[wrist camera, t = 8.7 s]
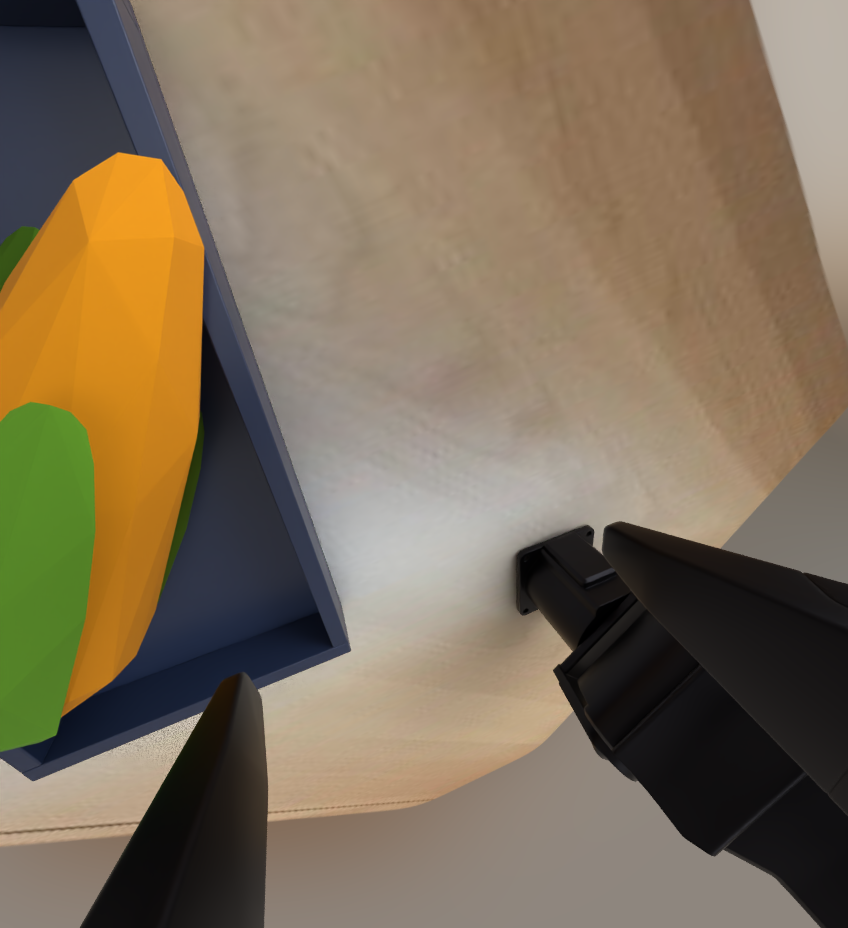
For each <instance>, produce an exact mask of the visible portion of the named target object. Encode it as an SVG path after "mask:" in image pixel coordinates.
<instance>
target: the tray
mask: <svg viewBox="0 0 848 928" xmlns="http://www.w3.org/2000/svg"><path fill="white" fill-rule="evenodd" d="M118 152H119V153H125V154H132V155H138V156H144V157H150V158H157V159H161V160H162V161H163V163H164V164H165V165H166V167H167V168H168V170H169V171H170V173H171V174H172V176H173V177H174V178H175V180H176V181H177V183H178V184H179V186H180V187H181V189H182V190H183V192H184V194H185V197H186V199H187V202H188V205H189V208H190V210H191V213H192V216H193V218H194V221H195V224H196V226H197V229H198V232H199V234H200V237H201V240H202V243H203V245H204V280H203V316H202V352H201V388H200V411H201V412H202V417H203V426H204V442H203V451H202V460H201V469H200V473H199V478H198V482H197V486H196V490H195V495H194V499H193V503H192V507H191V511H190V516H189V520H188V524H187V528H186V531H185V534H184V536H183V539H182V542H181V544H180V547H179V550H178V552H177V555H176V557H175V560H174V563H173V565H172V568H171V571H170V573H169V576H168V578H167V581H166V584H165V586H164V589H163V592H162V594H161V597H160V599H159V602H158V604H157V607H156V611H155V613H154V615H153V618H152V620H151V622H150V625H149V627H148V629H147V632H146V634H145V636H144V638H143V641H142V643H141V645H140V648H139V650H138V652H137V655H136V656H135V657H134V658H133V659H132V661H131V662H130V663H129V664H128V665H127V666H126V667H125V668H124V669H123V670H122V671H121V672H120V673H119V674H118V675H117V676H116V677H115V679H114V680H113V681H112V682H110V683H109V684H107V685H106V686H105V687H103V688H102V689H100V690H99V691H97V692H96V693H95V694H93V695H92V696H90V697H89V698H88V699H86V700H85V701H83V702H82V703H81V704H79V705H78V706H76V707H75V708H74V709H72V710H71V711H69V712H68V713H67V714H65V715H64V716H62V717H61V719H60V723H59V727H58V731H57V735H55V736H53V737H51V738H49V739H47V740H44V741H42V742H39V743H35V744H31V745H27V746H23V747H19V748H15V749H11V750H6V751H2V752H0V758H1V759H3V760H4V761H5V762H7V763H8V764H10V765H11V766H12V767H14V768H15V769H17V770H18V771H19V772H22V774H23V775H24V776H26V777H27V778H29V779H30V780H31V781H35V780H38V779H40V778H43V777H45V776H47V775H50V774H52V773H55V772H57V771H60V770H62V769H65V768H67V767H69V766H72V765H74V764H77V763H79V762H82V761H84V760H87V759H89V758H91V757H94V756H96V755H99V754H101V753H104V752H106V751H108V750H111V749H113V748H116V747H118V746H121V745H123V744H126V743H128V742H130V741H133V740H135V739H138V738H140V737H143V736H145V735H148V734H150V733H152V732H155V731H157V730H160V729H162V728H165V727H167V726H170V725H172V724H174V723H177V722H179V721H182V720H184V719H187V718H189V717H192V716H194V715H196V714H199V713H201V712H204V711H205V709H206V707H207V705H208V704H209V702H210V700H211V698H212V697H213V695H214V693H215V691H216V690H217V688H218V686H219V685H220V683H221V682H222V681H223V680H224V679H225V678H227V677H230V676H232V675H235V674H237V673H240V672H245V673H246V674H247V675H248V676H249V678H250V679H251V681H252V682H253V684H254V685H255V687H256V689H260V688H262V687H265V686H267V685H270V684H272V683H275V682H277V681H279V680H282V679H284V678H287V677H289V676H292V675H294V674H297V673H299V672H301V671H304V670H306V669H309V668H311V667H314V666H316V665H318V664H321V663H323V662H326V661H328V660H331V659H333V658H336V657H338V656H340V655H343V654H345V653H348V652H350V651H351V648H350V643H349V638H348V634H347V629H346V624H345V619H344V614H343V610H342V605H341V602H340V599H339V597H338V594H337V591H336V588H335V585H334V582H333V579H332V577H331V574H330V571H329V568H328V565H327V562H326V559H325V557H324V554H323V551H322V548H321V545H320V542H319V539H318V537H317V534H316V531H315V528H314V525H313V522H312V519H311V517H310V514H309V511H308V508H307V505H306V502H305V499H304V497H303V494H302V491H301V488H300V485H299V482H298V479H297V477H296V474H295V471H294V468H293V465H292V462H291V459H290V457H289V454H288V451H287V448H286V445H285V442H284V439H283V437H282V434H281V431H280V428H279V425H278V422H277V419H276V417H275V414H274V411H273V408H272V405H271V402H270V399H269V397H268V394H267V391H266V388H265V385H264V382H263V379H262V377H261V374H260V371H259V368H258V365H257V362H256V359H255V357H254V354H253V351H252V348H251V345H250V342H249V340H248V337H247V334H246V331H245V328H244V325H243V322H242V320H241V317H240V314H239V311H238V308H237V305H236V302H235V300H234V297H233V294H232V291H231V288H230V285H229V282H228V280H227V277H226V274H225V271H224V268H223V265H222V262H221V260H220V257H219V254H218V251H217V248H216V245H215V242H214V240H213V237H212V234H211V231H210V228H209V225H208V222H207V220H206V217H205V214H204V211H203V208H202V205H201V202H200V200H199V197H198V194H197V191H196V188H195V185H194V182H193V180H192V177H191V174H190V171H189V168H188V165H187V162H186V160H185V157H184V154H183V151H182V148H181V145H180V142H179V140H178V137H177V134H176V131H175V128H174V125H173V122H172V120H171V117H170V114H169V111H168V108H167V105H166V102H165V100H164V97H163V94H162V91H161V88H160V85H159V82H158V80H157V77H156V74H155V71H154V68H153V65H152V62H151V60H150V57H149V54H148V51H147V48H146V45H145V42H144V40H143V37H142V34H141V31H140V28H139V25H138V22H137V20H136V17H135V14H134V11H133V8H132V5H131V3H130V1H129V0H0V246H1V244H2V243H3V242H4V240H5V239H6V238H7V237H8V236H10V235H11V234H12V233H14V232H15V231H16V230H18V229H19V228H20V227H22V226H25V227H35V228H37V229H39V230H40V229H41V228H42V226H43V225H44V223H45V222H46V220H47V219H48V217H49V216H50V214H51V213H52V211H53V210H54V208H55V207H56V205H57V204H58V202H59V201H60V199H61V198H62V196H63V195H64V193H65V192H66V190H67V189H68V187H69V186H70V184H71V183H72V181H73V180H74V179H76V178H78V177H79V176H81V175H82V174H84V173H86V172H87V171H89V170H91V169H92V168H94V167H95V166H97V165H99V164H100V163H102V162H103V161H105V160H107V159H108V158H110V157H112V156H113V155H115V154H116V153H118Z"/></svg>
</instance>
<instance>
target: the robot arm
mask: <svg viewBox="0 0 848 928" xmlns="http://www.w3.org/2000/svg"><path fill="white" fill-rule="evenodd" d="M593 538H594V529H593V528H591V527H590V526H588V525H587V526H584V527H581V528H578V529H576V530H573V531H571V532H568V533H565V534H563V535H560V536H558V537H555V538H552V539H550V540H547V541H545V542H542V543H539V544H537V545H534V546H532V547H529V548H527V549H524V550H522V551H520V552H519V553H518V555H517V609H518V611H519V613H520V614H521V615H527V614H529V613H531V612H534V611H536V610H538V609H539V611H540V612H541V613H542V614H543V615H544V617H545V618H546V619H547V620H548V622H549V623H550V624H551V625H552V627H553V628H554V629H555V630H556V631H557V633H558V634H559V635H560V636H561V638H562V639H563V640H564V641H565V642H566V644H567V645H568V646H569V647H570V649H571V650H572V651H573V652H572V653H571V654H570V655H569V656H568V657H567V658H566V660H565V661H564V662H563V663H562V664H561V665H560V664H558V665H557V666H556V668H555V669H554V670H553V672H554V673H555V675H556V677H557V679H558V681H559V685H560V687H561V689H562V690H563V692H564V694H565V696H566V698H567V699H568V701H569V703H570V705H571V707H572V708H573V710H574V712H575V713H576V716H577V717H578V719H579V721H580V723H581V724H582V726H583V728H584V730H585V732H586V733H587V735H588V737H589V739H590V741H591V742H592V745H593V748H594V750H595V751H596V753H597V754H598V755H599V756H600V757H601V758H602V759H605V760H609V761H610V762H611V763H612V764H613V765H614V766H615V767H616V768H617V769H618V770H619V771H620V772H621V773H622V774H623V775H625V776H626V777H627V778H629V779H630V780H632V781H635V782H636V781H639V782H640V783H641V784H642V785H643V787H644V788H645V789H646V790H647V791H648V792H649V794H650V795H651V796H652V798H653V799H654V800H655V801H656V803H657V804H658V805H659V806H660V807H661V809H662V810H663V812H664V813H665V814H666V815H667V817H668V818H669V819H670V821H671V822H672V823H673V824H674V826H675V827H676V829H677V830H678V831H679V832H680V834H681V835H682V836H683V837H684V838H685V839H687V840H688V841H690V842H692V843H693V844H694V845H696V846H697V847H699V848H700V849H702V850H703V851H705V852H706V853H708V854H709V855H711V856H716V855H718V854H719V853H720V852H721V851H722V850H725V851H728V852H729V853H731V854H733V855H735V856H736V857H738V858H740V859H742V860H744V861H746V862H748V863H749V864H751V865H753V866H755V867H757V868H759V869H761V870H763V871H764V872H766V873H768V874H770V875H772V876H773V877H774V878H776V879H777V880H778V881H779V882H780V884H781V885H782V886H783V887H784V888H785V889H786V890H787V891H788V892H789V893H790V894H791V895H792V896H793V897H794V899H795V900H796V901H797V902H798V903H799V904H800V905H801V906H802V907H803V908H804V910H805V911H806V912H807V913H808V914H809V915H810V916H811V917H812V918H813V920H814V921H815V922H816V923H817V924H818V925H819V926H820V927H821V928H848V584H845V583H842V582H837V581H834V580H830V579H827V578H823V577H819V576H816V575H812V574H809V573H802V572H800V571H798V570H794V569H791V568H787V567H783V566H780V565H776V564H773V563H769V562H765V561H762V560H758V559H755V558H751V557H748V556H744V555H740V554H737V553H733V552H729V551H726V550H722V549H719V548H715V547H712V546H708V545H704V544H701V543H697V542H694V541H690V540H686V539H683V538H679V537H676V536H672V535H668V534H665V533H661V532H658V531H654V530H651V529H647V528H643V527H640V526H636V525H633V524H629V523H625V522H621V521H619V522H615V523H613V524H610V525H608V526H606V527H605V529H604V534H603V544H602V552H603V555H602V554H601V553H600V552H599V551H598V550H596V549H595V548H594V547H593ZM267 815H268V777H267V761H266V748H265V734H264V720H263V706H262V699H261V696H260V693H259V692H258V690H257V689H256V687H255V685H254V684H253V682H252V681H251V679H250V678H249V676H248V675H247V674H246V673H245V672H240V673H237V674H235V675H232V676H230V677H227V678H225V679H224V680H223V681H222V682H221V683H220V685H219V686H218V688H217V690H216V691H215V693H214V695H213V697H212V698H211V700H210V702H209V704H208V705H207V707H206V709H205V711H204V712H203V714H202V716H201V718H200V719H199V721H198V723H197V725H196V726H195V728H194V730H193V731H192V733H191V735H190V737H189V738H188V740H187V742H186V744H185V745H184V747H183V749H182V751H181V752H180V754H179V756H178V758H177V759H176V761H175V763H174V765H173V766H172V768H171V770H170V772H169V773H168V775H167V777H166V778H165V780H164V782H163V784H162V785H161V787H160V789H159V791H158V792H157V794H156V796H155V798H154V799H153V801H152V803H151V805H150V806H149V808H148V810H147V812H146V813H145V815H144V817H143V818H142V820H141V822H140V824H139V825H138V827H137V829H136V831H135V832H134V834H133V836H132V838H131V839H130V841H129V843H128V845H127V846H126V848H125V850H124V852H123V853H122V855H121V857H120V859H119V861H118V862H117V864H116V865H115V867H114V869H113V871H112V872H111V874H110V876H109V878H108V879H107V881H106V883H105V885H104V887H103V888H102V890H101V892H100V893H99V895H98V897H97V899H96V900H95V902H94V904H93V906H92V907H91V909H90V911H89V913H88V914H87V916H86V918H85V919H84V921H83V923H82V925H81V926H80V928H264V909H265V907H264V906H265V878H266V877H265V876H266V847H267Z"/></svg>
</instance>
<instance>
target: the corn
mask: <svg viewBox="0 0 848 928" xmlns="http://www.w3.org/2000/svg"><path fill="white" fill-rule="evenodd" d="M203 280H204V245H203V243H202V240H201V237H200V234H199V232H198V229H197V226H196V224H195V221H194V218H193V216H192V213H191V210H190V208H189V205H188V202H187V199H186V197H185V194H184V192H183V190H182V189H181V187H180V186H179V184H178V183H177V181H176V180H175V178H174V177H173V176H172V174H171V173H170V171H169V170H168V168H167V167H166V165H165V164H164V163H163V161H162V160H161V159H157V158H150V157H144V156H138V155H132V154H125V153H119V152H118V153H116V154H115V155H113V156H112V157H110V158H108V159H107V160H105V161H103V162H102V163H100V164H99V165H97V166H95V167H94V168H92V169H91V170H89V171H87V172H86V173H84V174H82V175H81V176H79V177H78V178H76V179H74V180H73V181H72V183H71V184H70V186H69V187H68V189H67V190H66V192H65V193H64V195H63V196H62V198H61V199H60V201H59V202H58V204H57V205H56V207H55V208H54V210H53V211H52V213H51V214H50V216H49V217H48V219H47V220H46V222H45V223H44V225H43V226H42V228H41V229H40V230H39V229H37V228H35V227H25V226H22V227H20V228H19V229H18V230H16V231H15V232H14V233H12V234H11V235H10V236H8V237H7V238H6V239H5V240H4V242H3V243H2V244H1V246H0V752H2V751H6V750H11V749H15V748H19V747H23V746H27V745H31V744H35V743H39V742H42V741H44V740H47V739H49V738H51V737H53V736H55V735H57V731H58V727H59V723H60V719H61V717H62V716H64V715H65V714H67V713H68V712H69V711H71V710H72V709H74V708H75V707H76V706H78V705H79V704H81V703H82V702H83V701H85V700H86V699H88V698H89V697H90V696H92V695H93V694H95V693H96V692H97V691H99V690H100V689H102V688H103V687H105V686H106V685H107V684H109V683H110V682H112V681H113V680H114V679H115V677H116V676H117V675H118V674H119V673H120V672H121V671H122V670H123V669H124V668H125V667H126V666H127V665H128V664H129V663H130V662H131V661H132V659H133V658H134V657H135V656H136V655H137V652H138V650H139V648H140V645H141V643H142V641H143V638H144V636H145V634H146V632H147V629H148V627H149V625H150V622H151V620H152V618H153V615H154V613H155V611H156V607H157V604H158V602H159V599H160V597H161V594H162V592H163V589H164V586H165V584H166V581H167V578H168V576H169V573H170V571H171V568H172V565H173V563H174V560H175V557H176V555H177V552H178V550H179V547H180V544H181V542H182V539H183V536H184V534H185V531H186V528H187V524H188V520H189V516H190V511H191V507H192V503H193V499H194V495H195V490H196V486H197V482H198V478H199V473H200V469H201V460H202V451H203V442H204V426H203V417H202V412H201V411H200V388H201V352H202V316H203Z"/></svg>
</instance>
